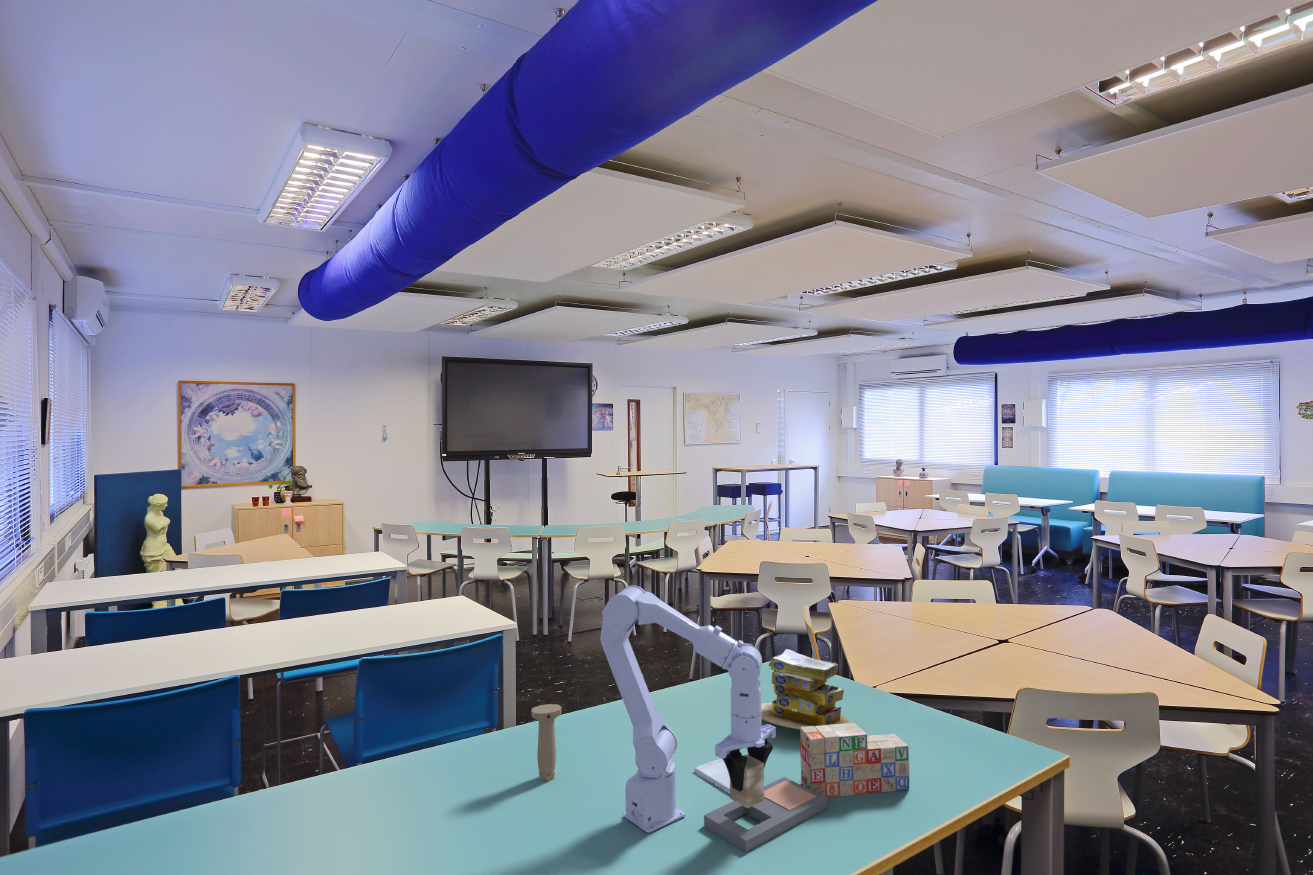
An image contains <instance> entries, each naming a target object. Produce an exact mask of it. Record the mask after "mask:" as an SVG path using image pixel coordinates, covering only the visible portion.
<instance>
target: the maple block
mask: <svg viewBox="0 0 1313 875" xmlns="http://www.w3.org/2000/svg"><path fill="white" fill-rule="evenodd" d="M742 755H743V754H742ZM743 756H745V757H747V758H748V760H747V762H746V766H745V770H744V783H743V789H742V791H737V790H736V789H734V788H732V784H731V780H730V794H729V799H730V800H732V801H735V802H737V803H739V804H741V805H743V806H744V807H746V808H749V807H751V806H753V805H755V804H757V803H759V802H761V801H763V800H764V786H765V775H764V774H765V770H764V769H765V767H764V763H763V762H761V761H759V760H757V759H755V758H753V757H751V756H749V755H748V753H747V754H744V755H743Z"/></svg>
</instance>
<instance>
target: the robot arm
mask: <svg viewBox="0 0 1313 875" xmlns="http://www.w3.org/2000/svg"><path fill="white" fill-rule="evenodd" d="M601 616H602V622H601V631H600V637H599V638H600V644H601V647H602V649H603V652H604V654H605V657H606V659H607V662H608V665H609V668H610V671H611V673H612V676H613V678H614V682H615V684H616V685H617V688H618V691H619V692H620V695H621V698H622V702H623V704H624V706H625V709H626V712H627V714H628V717H629V720H630V722H631V724H632V727H633V728H632V730H633V731H632V744H633V747H634V750H635V756H634V757H635V758H634V760H635V766H636V767H637V771H636V772H635V773H634V775H632V776H631V777H629V778H628V779H627V780H626V782H625V812H624V813H623V817H624V818H625V819H627V820H628V821H629V822H631V823H632V824H634V825H636V826H637V827H638V828H640V829H641V830H643V831H644V832H645V833H648V834H650V833H652V832H654V831H656V830H658V829H660V828H662V827H665V826H667V825H668V824H671V823H673V822H676V821H679V819H680V820H681V818H684V817H685V816H686V813H685V812H684V811H683V810H681V809H679V808H678V807H677V806H676V805H677V804H676V803H677V802H676V801H677V799H676V798H677V797H676V764H675V762H674V759H673V755H674V754H675V752H676V750H677V748H678V738H677V735H676V733H675V732H674V731H673V730H672V729H671V728H670V727H669V726H668V724H667V723H666V720H665V718H664V717H663V716H662V715H660V714H659V713H658V712H657V709H656V707H655V704H654V702H653V699H652V696H651V694H650V692H649V689H648V685H647V684H646V681H645V678H644V675H643V673H642V671H641V668H640V665H639V662H638V660H637V658H636V655H635V652H634V650H633V647H632V644H631V643H630V641H629V640H630V639H629V637H630V635H631V633H632V631H633V629H634V626H635V624H636V622H637V626H641V625H649V624H657V625H659V626H661V627H663V628H664V629H667V630H668V631H671V632H672V633H674V634H676V635H678V636H680V637H682V638H683V639H684V640H685V639H686V640H687V641H689V642H690V643H692V646H693V648H694V652H695V653H697V654H699V655H700V656H702V657H704V658H706V660H708V661H710V662H712V663H713V664H715V665H717V666H718V667H720V668H722V669H723V670H727V672H728V675H729V677H730V679H731V686H730V733H729V734H728V735H727V736H726V737H725V738H724V739H722V740H721V741H720V742H718V743H716V744H715V745H714V754H715V756H716V757H718V758H719V759H720V758H722V759H723V761H724V763H725V765H726V767H727V770H728V773H729V776H730V780H731V784H732V788H734V789H736V790H737V791H742V789H743V783H744V770H745V766H746V762H747V760H748V758H747V757H745V756H743V754H742V751H741V750H742V749H747V750H746V751H747V755H749V756H751V757H753V758H755V759H757V760H759V761H761V762H763V763H764V768H766V764H767V761H768V758H769V756H770V754H771V753H772V751H773V749H774V747H773V746H774V744H773V743H772V742H770V741H768V739H769V738H771V739H774V738H776V737H777V736H776V735H777V734H776V733H777V732H776V731H777V729H776V728H777V727H776V726H774V725H771V724H769V723H767V724H763V725H762V719H761V704H762V688H761V683H762V682H761V681H762V680H761V675H760V674H761V668H762V665H763V657H762V654H761V652H760V650H759V649H758V648H756V647H755V646H754V644H752V643H745V642H744V641H743V640H740V639H739V640H736V639H734V638H732V637H731V636H729V635H728V634H726V633H724V632H723V631H722V630H723V629H722V627H721V626H719V625H715V627H714V626H712V625H711V624H708V625H704V626H703V625H702V626H700V625H699V624H697V623H696V622H694V621H693V620H691V619H689V618H688V617H687V616H686V615H684V614H682V613H681V612H679V611H678V610H676V609H675V608H673V607H672V606H670V605H668V604H667V603H666V602H664V601H662V600H661V599H660V598H659V597H657V596H656V595H655V594H654V593H652V592H649V591H646V590H645V589H643V588H642V587H640V586H639V585H629V586H626V587H624V588H623V589H622V590H621V591H620V592H618V593H617V594H616V595H615V594H614V595H613V596H612V597H611V598H610V599H609V600H607V603H606V604H605V606H604V608H603V609H602V611H601Z"/></svg>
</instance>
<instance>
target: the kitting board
mask: <svg viewBox="0 0 1313 875" xmlns="http://www.w3.org/2000/svg"><path fill="white" fill-rule="evenodd" d="M826 809H828V797H825V796H823V795H821V794H819V793H817V792H815V791H813V790H810V789H808V788H806V787H804V786H803V785H802V784H801V783H797V782H796V781H794V780H792V779H789V778H787V777H785V776H783V777H781V778H779V779H777V780H775V781H772V782H771V783H769V784H767V785H764V800H763V801H761V802H759V803H757V804H755V805H753V806H751V807H749V808H746V807H744V806H743V805H741V804H739V803H737V802H735V801H734V800H732V801H730V802H729V803H727V804H726V803H725V804H724V805H722V806H720V807H718V808H715V809H714V810H712V811H710V812H708V813H705V814H704V815H703V826H704V827H706V828H707V829H708V830H710V831H712V832H714V833H715V834H717V835H719V836H720V837H721V838H723V839H725V840H726V841H727V842H729V843H731V844H733V845H734V846H736V847H737V848H739V849H741V850H742V851H743V852H746V853H748V852H750V851H752V850H753V849H755V848H757V847H759V846H761V845H762V844H764V843H766V842H768V841H769V840H771V839H774V838H775V837H777V836H779V835H780V834H782V833H784V832H786V831H788V830H789V829H791V828H793V827H795V826H797V825H799V824H800V823H802V822H804V821H806V820H808V819H809V818H811V817H813V816H815V815H816V814H819V813H821V812H822V811H824V810H826ZM744 814H745V815H748V814H749V816H750V815H751V816H750V817H752V818H754V819H755V818H756V819H755V820H757V819H758V821H759V820H760V821H759V822H760V823H758V824H756V825H755V826H752V827H750V828H749V829H748V828H746V827H744V826H742V825H740V823H737V822H735V820H736V818H737V819H739V818H740V816H741V817H742V815H743V816H745V815H744ZM738 817H739V818H738ZM734 819H735V820H734Z"/></svg>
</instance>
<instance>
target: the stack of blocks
mask: <svg viewBox="0 0 1313 875" xmlns="http://www.w3.org/2000/svg"><path fill="white" fill-rule="evenodd" d="M799 730H800V741H799V749H800V750H799V752H800V753H799V754H800V784H801V783H802V784H801V785H802V786H804V787H806V788H808V789H810V790H813V791H815V792H817V793H819V794H821V795H823V796H825V797H827V798H831V797H845V796H846V797H847V796H854V795H864V794H874V793H875V794H877V793H888V792H889V793H890V792H902V791H909V790H910V761H909V758H910V755H909V754H910V753H909V745H908V744H907V743H906V742H905V741H904V740H902V739H901V738H899V736H898V735H897V734H895V733H889V734H888V733H887V734H873V735H868V734H867V733H866V732H865V731H864V730H863V729H862V728H861V727H859V726H858V725H857V723H855V722H850V723H846V724H832V725H822V726H806V727H800V729H799Z"/></svg>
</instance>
